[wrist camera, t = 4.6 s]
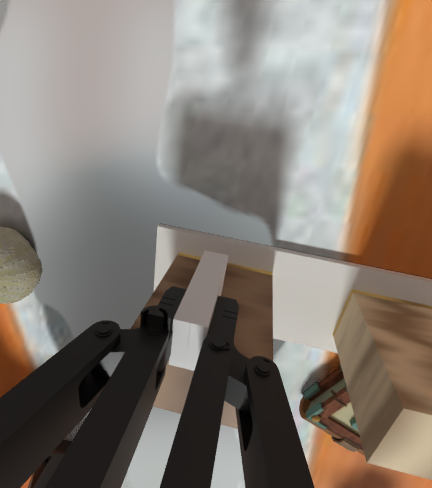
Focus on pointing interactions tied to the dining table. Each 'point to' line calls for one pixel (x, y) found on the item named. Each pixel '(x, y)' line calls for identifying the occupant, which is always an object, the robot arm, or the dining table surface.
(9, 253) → the sea urchin shell
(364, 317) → the oak block
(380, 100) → the dining table surface
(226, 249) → the felt mat
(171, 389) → the walnut block
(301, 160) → the dining table surface
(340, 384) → the decorative book
